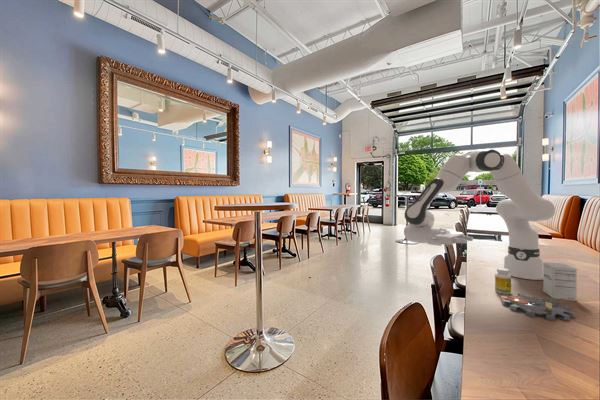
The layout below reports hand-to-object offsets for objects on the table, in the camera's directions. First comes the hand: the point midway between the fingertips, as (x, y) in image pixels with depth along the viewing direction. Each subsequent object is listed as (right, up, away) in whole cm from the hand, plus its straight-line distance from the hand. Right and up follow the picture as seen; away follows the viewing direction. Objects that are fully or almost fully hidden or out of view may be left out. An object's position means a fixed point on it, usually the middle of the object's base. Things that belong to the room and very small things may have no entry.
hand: (469, 240), depth 115 cm
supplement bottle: (+8, -21, -9) cm, 24 cm away
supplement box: (+26, -20, -14) cm, 36 cm away
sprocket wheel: (+7, -21, -24) cm, 33 cm away
